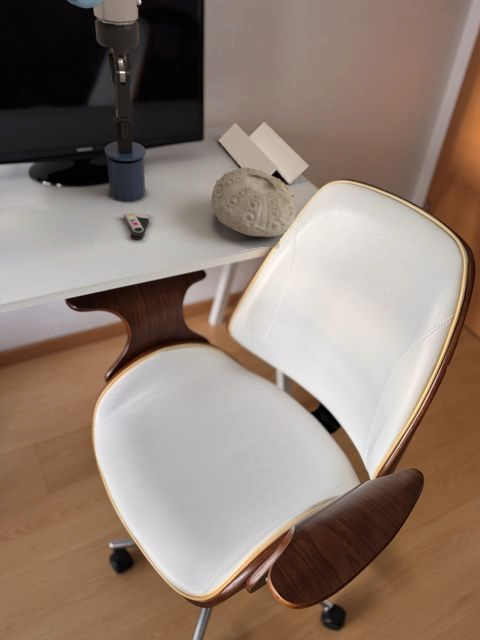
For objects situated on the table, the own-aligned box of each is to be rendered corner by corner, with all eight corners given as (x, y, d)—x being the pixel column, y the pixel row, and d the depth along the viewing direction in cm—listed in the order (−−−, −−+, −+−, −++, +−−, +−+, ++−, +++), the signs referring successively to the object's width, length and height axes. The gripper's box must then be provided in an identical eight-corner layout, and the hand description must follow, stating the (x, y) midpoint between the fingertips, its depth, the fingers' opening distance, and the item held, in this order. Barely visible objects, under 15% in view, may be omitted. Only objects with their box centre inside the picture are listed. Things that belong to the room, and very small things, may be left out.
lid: (106, 164, 110) (102, 118, 103) (104, 146, 115) (100, 101, 109) (147, 163, 112) (146, 118, 105) (143, 146, 117) (141, 102, 111)
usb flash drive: (142, 240, 107) (142, 235, 106) (115, 236, 107) (115, 232, 106) (150, 217, 113) (150, 213, 112) (125, 214, 113) (125, 210, 112)
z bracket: (271, 201, 132) (257, 186, 127) (232, 155, 148) (218, 140, 143) (308, 165, 130) (296, 148, 125) (264, 122, 145) (251, 106, 140)
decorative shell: (261, 190, 124) (273, 151, 117) (304, 241, 117) (320, 203, 109) (193, 201, 115) (201, 160, 108) (235, 257, 108) (247, 217, 100)
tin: (111, 202, 116) (108, 164, 110) (109, 185, 121) (105, 148, 115) (146, 201, 118) (145, 163, 112) (142, 184, 123) (141, 147, 117)
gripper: (143, 33, 92) (147, 165, 108) (134, 8, 102) (139, 132, 119) (97, 31, 90) (108, 166, 106) (92, 6, 100) (103, 132, 117)
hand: (125, 148), depth 112 cm, fingers closed on lid, 3 cm apart
